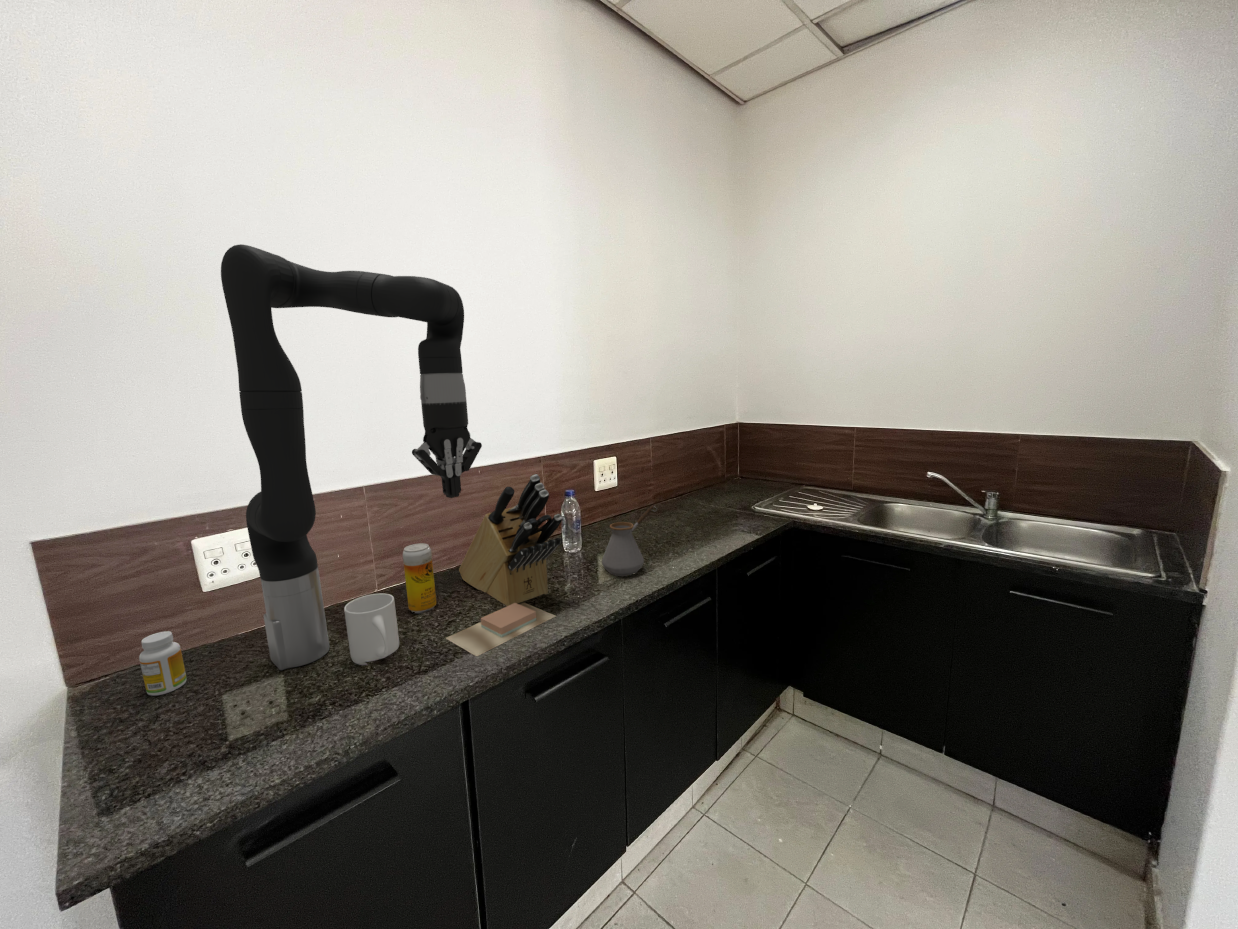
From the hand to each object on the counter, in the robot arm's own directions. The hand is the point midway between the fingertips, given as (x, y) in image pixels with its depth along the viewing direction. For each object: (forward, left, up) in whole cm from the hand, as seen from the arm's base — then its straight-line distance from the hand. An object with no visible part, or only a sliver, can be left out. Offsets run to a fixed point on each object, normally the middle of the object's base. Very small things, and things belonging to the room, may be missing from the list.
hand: (452, 496), depth 90 cm
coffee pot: (+55, +3, -32) cm, 64 cm away
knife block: (+23, +17, -32) cm, 42 cm away
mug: (-11, +13, -32) cm, 36 cm away
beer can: (+5, +26, -32) cm, 42 cm away
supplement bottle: (-39, +34, -32) cm, 61 cm away
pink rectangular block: (+7, +2, -29) cm, 30 cm away
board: (+10, +2, -31) cm, 33 cm away
